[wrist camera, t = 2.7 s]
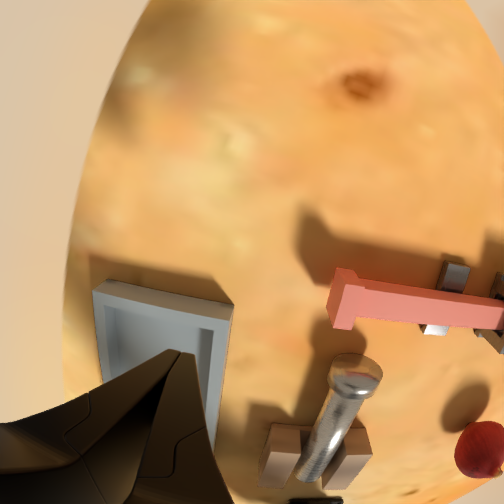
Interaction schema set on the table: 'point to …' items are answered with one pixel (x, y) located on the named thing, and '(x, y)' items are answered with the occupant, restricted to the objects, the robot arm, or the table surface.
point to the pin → (337, 411)
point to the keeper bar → (407, 304)
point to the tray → (163, 335)
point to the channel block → (289, 450)
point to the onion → (481, 450)
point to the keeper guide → (454, 282)
